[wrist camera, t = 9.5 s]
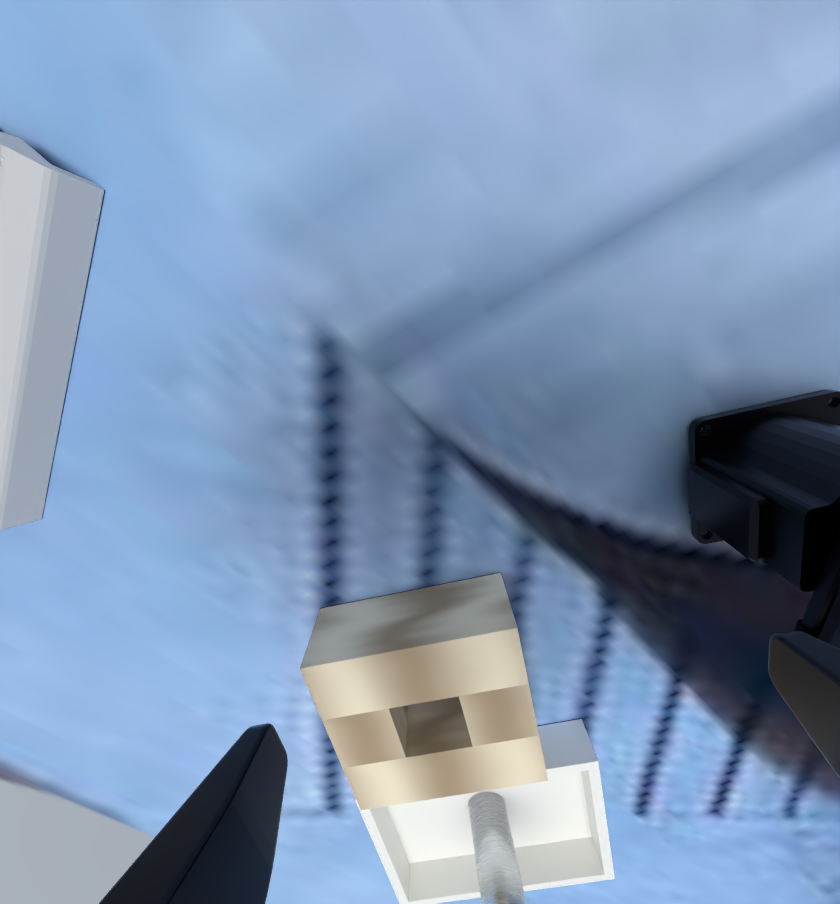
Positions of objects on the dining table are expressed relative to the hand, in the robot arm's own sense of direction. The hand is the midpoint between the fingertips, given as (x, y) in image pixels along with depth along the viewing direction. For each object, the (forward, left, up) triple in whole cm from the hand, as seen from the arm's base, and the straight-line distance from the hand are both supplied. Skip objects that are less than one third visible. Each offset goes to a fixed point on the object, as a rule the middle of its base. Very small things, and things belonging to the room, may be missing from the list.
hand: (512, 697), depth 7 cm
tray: (+3, +24, -13) cm, 27 cm away
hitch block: (+4, +12, -13) cm, 18 cm away
